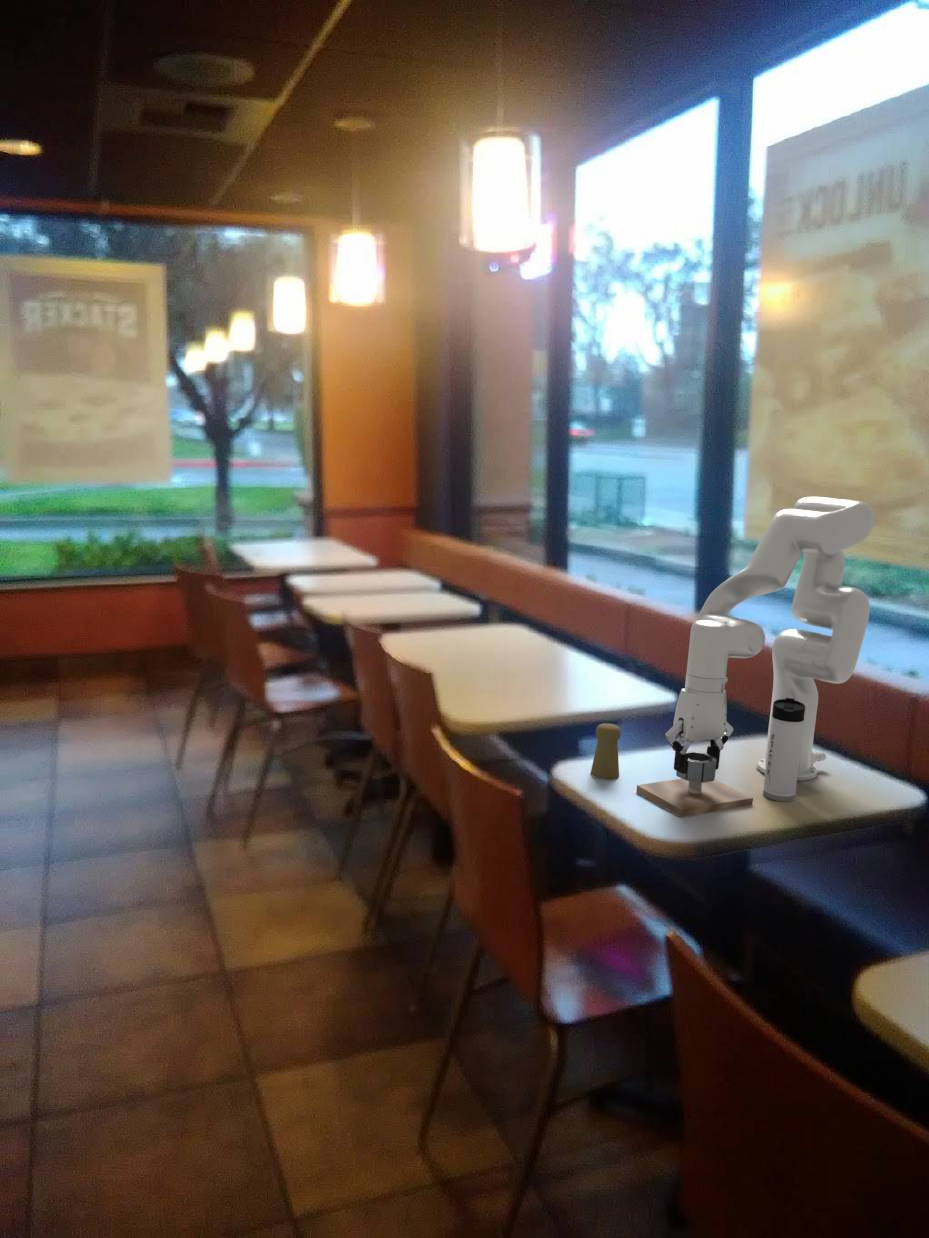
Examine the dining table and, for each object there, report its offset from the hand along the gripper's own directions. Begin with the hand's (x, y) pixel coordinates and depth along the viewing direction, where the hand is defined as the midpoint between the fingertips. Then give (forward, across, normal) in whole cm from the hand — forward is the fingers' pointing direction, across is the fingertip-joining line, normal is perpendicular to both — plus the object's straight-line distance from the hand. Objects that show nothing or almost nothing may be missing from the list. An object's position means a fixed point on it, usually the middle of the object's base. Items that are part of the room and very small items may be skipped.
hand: (695, 769), depth 204 cm
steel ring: (+1, 0, 0) cm, 1 cm away
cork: (+7, +9, -18) cm, 21 cm away
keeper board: (+6, 0, 0) cm, 6 cm away
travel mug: (+6, -18, +5) cm, 20 cm away
